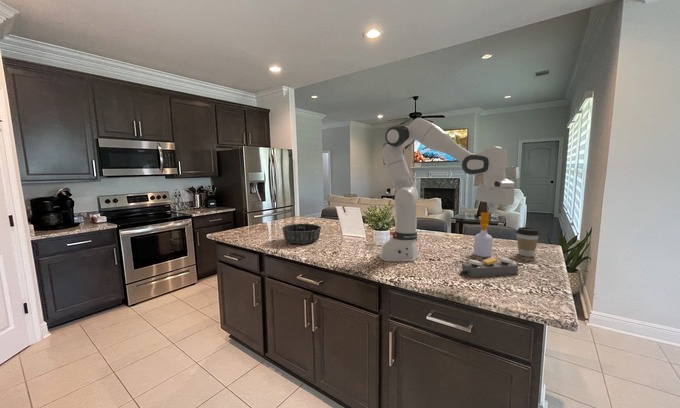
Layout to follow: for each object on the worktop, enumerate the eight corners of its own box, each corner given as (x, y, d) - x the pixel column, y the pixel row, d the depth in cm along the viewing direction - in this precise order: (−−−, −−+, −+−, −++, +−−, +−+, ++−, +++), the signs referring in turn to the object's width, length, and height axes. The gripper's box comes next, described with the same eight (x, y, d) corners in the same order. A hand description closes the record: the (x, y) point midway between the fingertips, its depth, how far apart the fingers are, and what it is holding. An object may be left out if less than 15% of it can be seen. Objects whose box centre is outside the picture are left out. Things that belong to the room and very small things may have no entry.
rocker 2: (487, 265, 131) (487, 262, 131) (482, 262, 134) (482, 260, 134) (497, 262, 132) (496, 259, 132) (492, 260, 135) (491, 257, 135)
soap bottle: (473, 255, 160) (475, 212, 157) (474, 251, 168) (476, 210, 165) (491, 258, 156) (494, 213, 153) (491, 253, 164) (493, 211, 161)
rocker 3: (503, 261, 132) (504, 259, 132) (498, 259, 136) (498, 257, 135) (512, 263, 133) (513, 260, 133) (507, 261, 137) (507, 258, 137)
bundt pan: (329, 239, 199) (328, 225, 197) (305, 248, 176) (304, 232, 175) (299, 235, 212) (299, 222, 211) (274, 243, 190) (273, 228, 189)
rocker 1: (472, 264, 130) (473, 261, 129) (468, 261, 133) (468, 259, 133) (482, 265, 131) (482, 263, 130) (477, 263, 134) (478, 260, 134)
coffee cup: (531, 252, 167) (533, 227, 165) (542, 258, 155) (545, 231, 154) (510, 251, 168) (512, 226, 166) (520, 257, 156) (522, 230, 155)
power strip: (465, 277, 127) (465, 268, 127) (456, 272, 134) (456, 263, 134) (517, 273, 132) (518, 264, 132) (506, 268, 139) (506, 259, 139)
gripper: (473, 181, 138) (471, 209, 140) (504, 183, 118) (502, 216, 120) (484, 181, 139) (483, 209, 141) (518, 183, 119) (515, 215, 121)
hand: (492, 212), depth 130 cm, fingers closed
